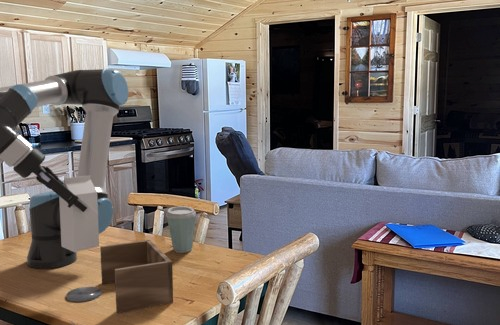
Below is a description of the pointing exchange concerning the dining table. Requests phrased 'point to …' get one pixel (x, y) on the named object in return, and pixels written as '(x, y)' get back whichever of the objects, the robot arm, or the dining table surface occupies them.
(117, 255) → the walnut cubby
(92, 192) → the milk carton
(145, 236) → the dining table surface
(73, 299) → the disc
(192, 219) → the disposable coffee cup
